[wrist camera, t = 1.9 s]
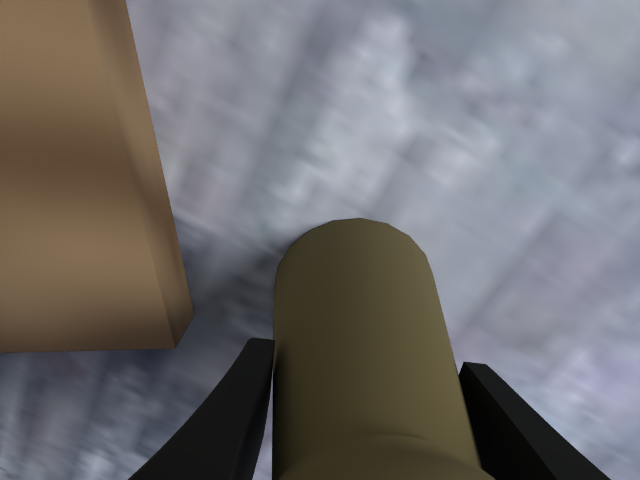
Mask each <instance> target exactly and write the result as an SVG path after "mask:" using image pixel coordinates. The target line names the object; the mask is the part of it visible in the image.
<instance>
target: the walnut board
mask: <svg viewBox="0 0 640 480" xmlns="http://www.w3.org/2000/svg"><path fill="white" fill-rule="evenodd" d="M193 316H194V311H193V306H192V302H191V297H190V293H189V288H188V284H187V279H186V274H185V270H184V265H183V261H182V256H181V252H180V247H179V243H178V238H177V233H176V229H175V224H174V220H173V215H172V211H171V206H170V202H169V197H168V192H167V188H166V183H165V179H164V174H163V170H162V165H161V161H160V156H159V151H158V147H157V142H156V138H155V133H154V129H153V124H152V120H151V115H150V110H149V106H148V101H147V97H146V92H145V88H144V83H143V79H142V74H141V69H140V65H139V60H138V56H137V51H136V47H135V42H134V38H133V33H132V28H131V24H130V19H129V15H128V10H127V6H126V1H125V0H0V353H17V352H56V351H95V350H133V349H172V348H176V346H177V345H178V343H179V341H180V339H181V337H182V336H183V334H184V332H185V330H186V329H187V327H188V325H189V323H190V321H191V320H192V318H193Z"/></svg>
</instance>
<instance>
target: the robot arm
mask: <svg viewBox="0 0 640 480" xmlns="http://www.w3.org/2000/svg"><path fill="white" fill-rule="evenodd" d="M274 350H275V340H270V339H261V338H251V339H249V340H248V341H247V343H246V345H245V347H244V348H243V350H242V352H241V353H240V355H239V356H238V358H237V359H236V361H235V362H234V363H233V365H232V366H231V368H230V369H229V370H228V372H227V373H226V375H225V376H224V377H223V378H222V380H221V381H220V382H219V383H218V385H217V386H216V387H215V389H214V390H213V391H212V392H211V394H210V395H209V396H208V397H207V399H206V400H205V401H204V402H203V403H202V404H201V405H200V407H199V408H198V409H197V410H196V411H195V412H194V413H193V415H192V416H191V417H190V418H189V419H188V420H187V421H186V422H185V424H184V425H183V426H182V427H181V428H180V429H179V430H178V431H177V432H176V433H175V434H174V435H173V436H172V437H171V439H170V440H169V441H168V442H167V443H166V444H165V445H164V446H163V447H162V448H161V449H160V450H159V451H158V452H157V453H156V454H155V455H153V456H152V457H151V458H150V459H149V460H148V461H147V462H146V463H145V464H144V465H143V466H142V467H141V468H140V469H139V470H138V471H137V472H136V473H134V474H133V475H132V476H131V477H130V478H129V479H128V480H252V478H253V474H254V471H255V467H256V463H257V459H258V455H259V452H260V448H261V444H262V440H263V436H264V430H265V424H266V418H267V412H268V406H269V400H270V391H271V380H272V370H273V360H274ZM459 379H460V383H461V387H462V391H463V395H464V399H465V403H466V407H467V411H468V415H469V419H470V423H471V427H472V431H473V435H474V438H475V442H476V446H477V450H478V454H479V458H480V462H481V466H482V470H483V471H485V472H486V473H488V474H489V475H490V476H492V477H493V478H494V479H495V480H611V479H610V478H608V477H607V476H606V475H605V474H604V473H603V472H601V471H600V470H599V469H598V468H597V467H596V466H595V465H593V464H592V463H591V462H590V461H589V460H588V459H587V458H585V457H584V456H583V455H582V454H581V453H580V452H579V451H577V450H576V449H575V448H574V447H573V446H572V445H571V444H570V443H569V442H568V441H567V440H565V439H564V438H563V437H562V436H561V435H560V434H559V433H558V432H557V431H556V430H555V429H554V428H553V427H551V426H550V425H549V424H548V423H547V422H546V421H545V420H544V419H543V418H542V417H541V416H540V415H539V414H538V413H537V412H536V411H535V410H534V409H533V408H532V407H531V406H529V405H528V404H527V403H526V402H525V401H524V400H523V399H522V398H521V397H520V396H519V395H518V394H517V393H516V392H515V391H514V390H513V389H512V388H511V387H510V386H509V385H508V384H507V383H506V382H505V381H504V380H503V379H502V378H501V377H499V376H498V375H497V374H496V373H495V372H494V371H493V370H492V369H491V368H490V367H489V366H487V365H486V364H479V363H471V362H463V365H462V368H461V371H460V373H459Z"/></svg>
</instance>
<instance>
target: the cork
mask: <svg viewBox="0 0 640 480" xmlns="http://www.w3.org/2000/svg"><path fill="white" fill-rule="evenodd" d="M273 340H275V350H274V360H273V425H272V480H495V479H494V478H493V477H492V476H490V475H489V474H488V473H486V472H485V471H483V470H482V466H481V462H480V458H479V454H478V450H477V446H476V442H475V438H474V435H473V431H472V427H471V423H470V419H469V415H468V411H467V407H466V403H465V399H464V395H463V391H462V387H461V383H460V379H459V375H458V372H457V368H456V364H455V360H454V356H453V352H452V348H451V344H450V340H449V336H448V332H447V328H446V324H445V320H444V316H443V312H442V308H441V305H440V301H439V297H438V293H437V289H436V285H435V281H434V277H433V274H432V271H431V268H430V266H429V263H428V260H427V257H426V255H425V253H424V252H423V251H422V250H421V249H420V248H419V246H418V245H417V244H416V243H415V242H414V241H413V240H412V238H411V237H410V236H408V235H406V234H405V233H403V232H401V231H399V230H398V229H396V228H394V227H392V226H391V225H389V224H387V223H382V222H377V221H372V220H367V219H363V218H357V219H346V220H335V221H332V222H329V223H327V224H324V225H322V226H319V227H317V228H315V229H312V230H310V231H308V232H307V233H306V234H305V235H303V236H302V237H301V238H300V239H299V240H297V241H296V242H295V243H294V244H293V245H291V246H290V248H289V249H288V251H287V252H286V254H285V256H284V257H283V259H282V261H281V262H280V264H279V266H278V269H277V274H276V279H275V285H274V320H273Z"/></svg>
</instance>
